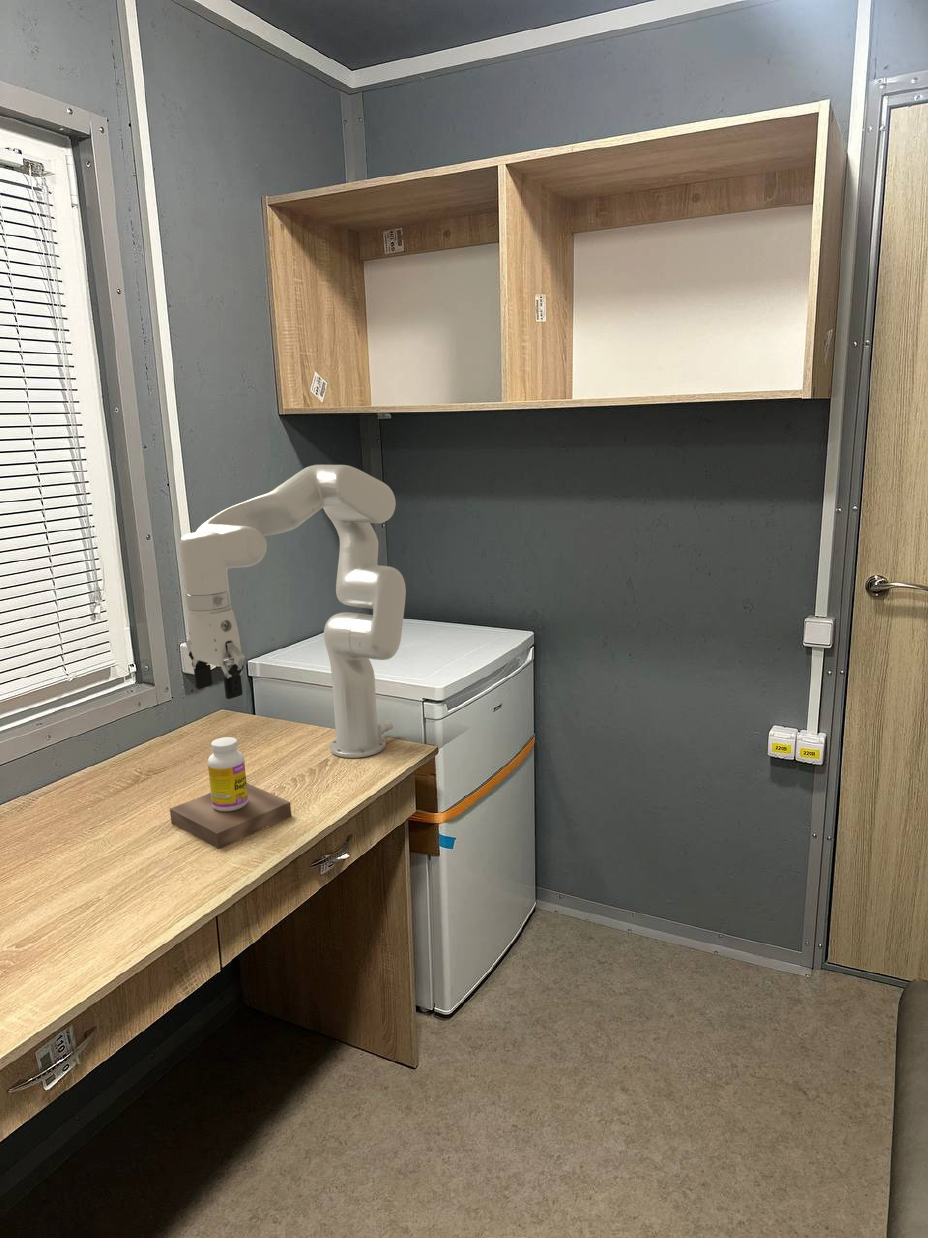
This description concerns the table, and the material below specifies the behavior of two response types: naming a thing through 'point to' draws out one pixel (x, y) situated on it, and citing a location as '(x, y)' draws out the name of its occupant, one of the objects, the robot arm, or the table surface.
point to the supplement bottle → (227, 775)
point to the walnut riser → (230, 817)
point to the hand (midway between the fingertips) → (219, 691)
